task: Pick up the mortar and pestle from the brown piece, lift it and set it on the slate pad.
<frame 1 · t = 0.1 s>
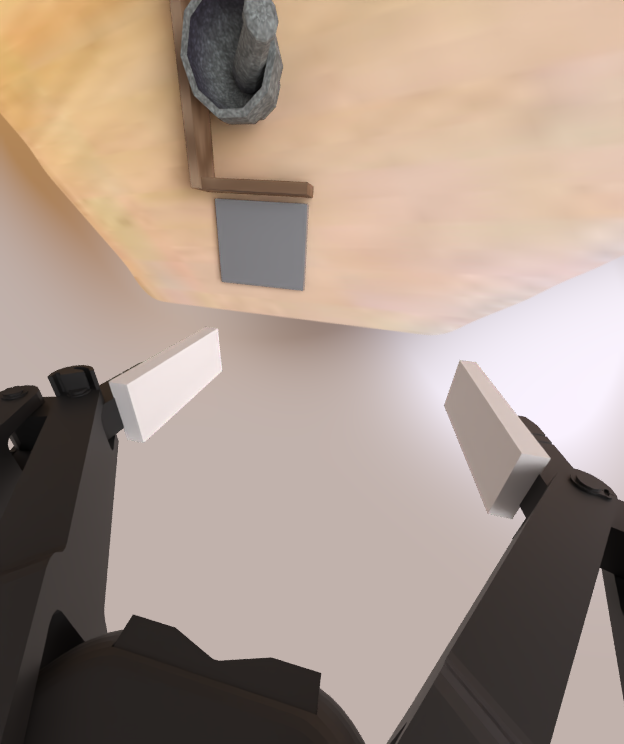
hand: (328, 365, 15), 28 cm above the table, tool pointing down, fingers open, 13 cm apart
brown piece: (260, 86, 32), on the table
slate pad: (262, 246, 40), on the table
mortar and pestle: (261, 87, 32), on the table
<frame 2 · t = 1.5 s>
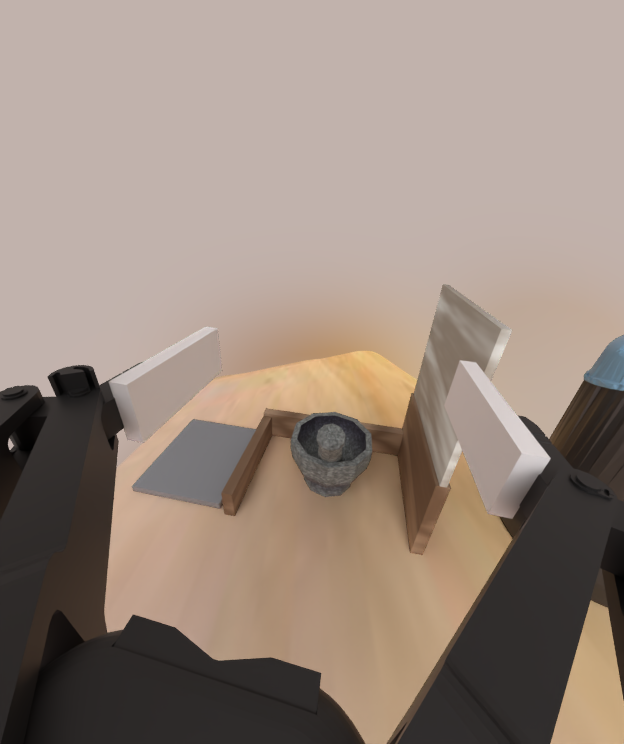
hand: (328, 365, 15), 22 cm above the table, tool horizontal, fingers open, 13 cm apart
brown piece: (327, 480, 35), on the table
slate pad: (204, 458, 38), on the table
mortar and pestle: (327, 481, 36), on the table
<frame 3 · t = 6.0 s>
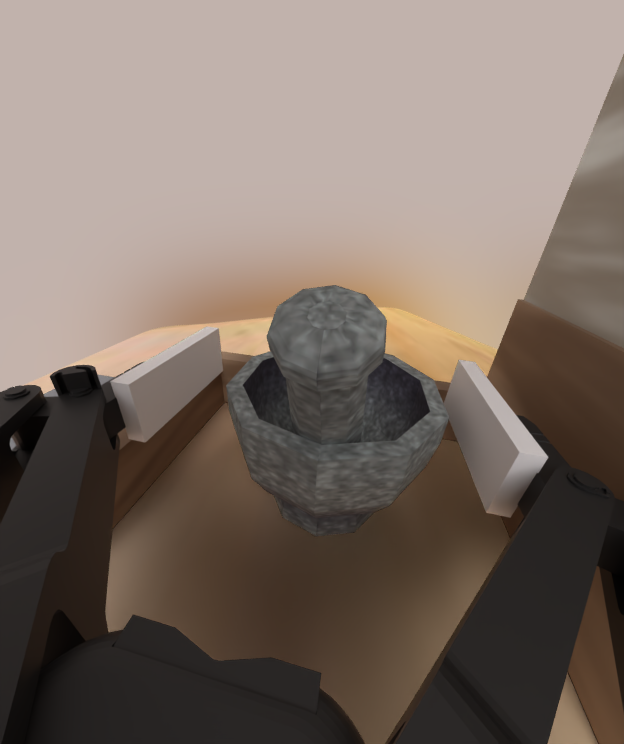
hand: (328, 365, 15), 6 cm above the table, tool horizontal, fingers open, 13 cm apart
brown piece: (323, 493, 15), on the table
mortar and pestle: (323, 496, 16), on the table
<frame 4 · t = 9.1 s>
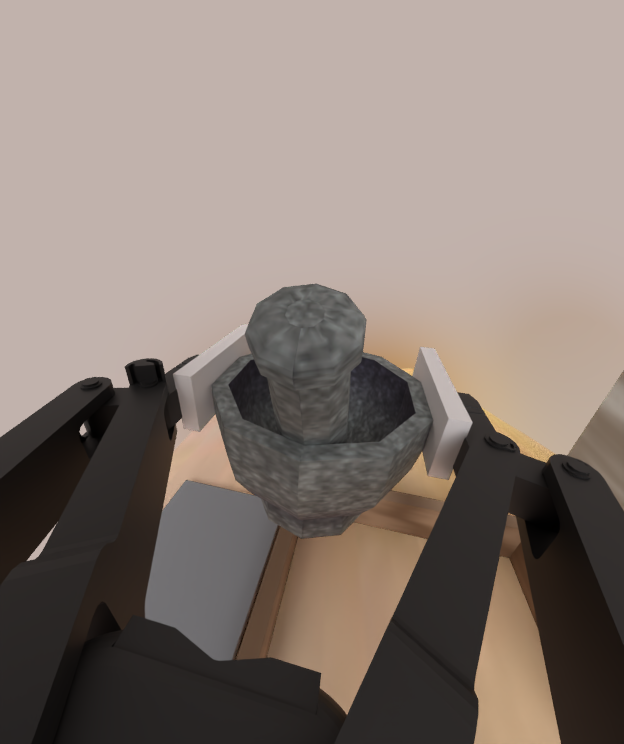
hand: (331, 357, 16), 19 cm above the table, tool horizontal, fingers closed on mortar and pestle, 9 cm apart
brown piece: (408, 619, 20), on the table
slate pad: (199, 561, 23), on the table
mortar and pestle: (310, 498, 15), point 12 cm above the table, touching gripper
when the fingers open (9 cm above the table, at t = 11.9 s): mortar and pestle drops 1 cm, resting on slate pad.
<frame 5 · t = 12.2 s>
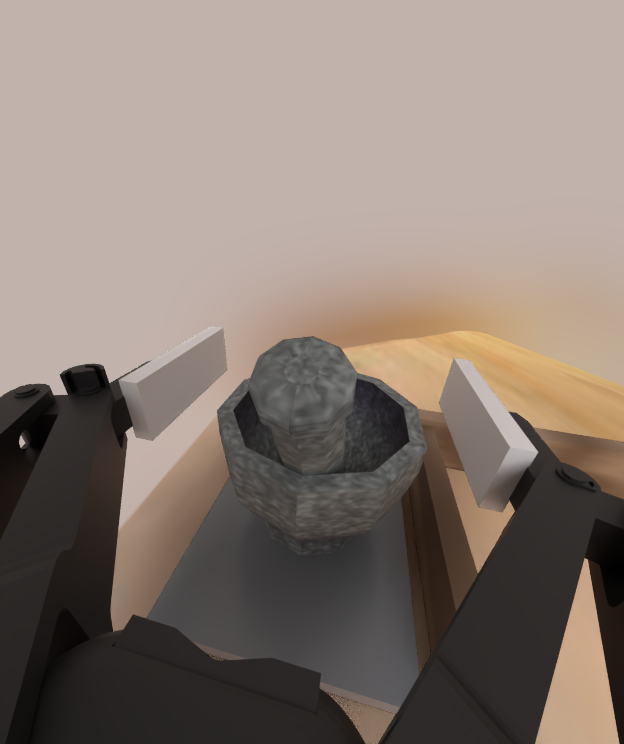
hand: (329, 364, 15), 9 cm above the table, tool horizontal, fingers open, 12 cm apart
slate pad: (307, 520, 16), on the table
mortar and pestle: (310, 515, 16), point 1 cm above the table, touching slate pad
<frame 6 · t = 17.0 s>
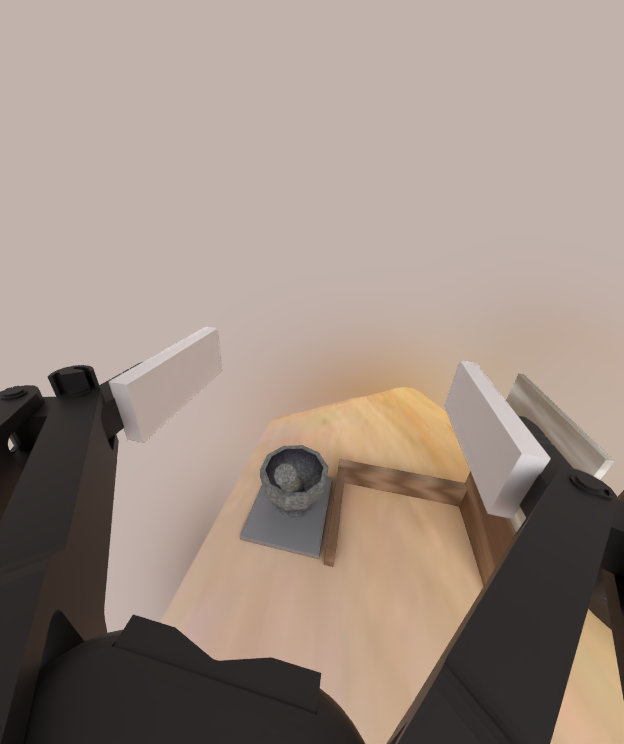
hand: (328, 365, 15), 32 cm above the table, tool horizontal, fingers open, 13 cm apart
brown piece: (403, 532, 40), on the table
slate pad: (291, 506, 43), on the table
mortar and pestle: (292, 504, 42), point 1 cm above the table, touching slate pad
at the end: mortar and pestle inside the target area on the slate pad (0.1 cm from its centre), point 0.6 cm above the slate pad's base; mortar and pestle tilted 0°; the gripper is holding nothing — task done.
